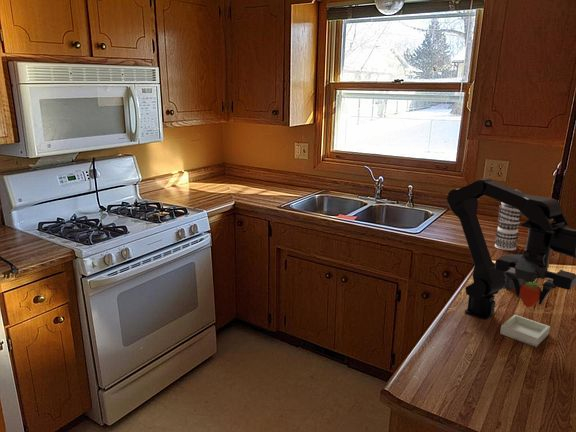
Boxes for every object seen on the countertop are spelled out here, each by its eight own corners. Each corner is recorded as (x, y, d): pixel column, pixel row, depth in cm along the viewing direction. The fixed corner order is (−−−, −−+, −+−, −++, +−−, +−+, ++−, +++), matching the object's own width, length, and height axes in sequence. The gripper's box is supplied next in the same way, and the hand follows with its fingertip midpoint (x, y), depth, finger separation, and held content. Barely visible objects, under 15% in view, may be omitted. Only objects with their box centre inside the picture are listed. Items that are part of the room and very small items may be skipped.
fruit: (513, 303, 124) (517, 276, 122) (527, 300, 126) (531, 274, 124) (529, 312, 119) (534, 284, 117) (544, 309, 121) (549, 281, 119)
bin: (500, 333, 125) (501, 325, 124) (513, 322, 131) (514, 314, 131) (536, 347, 118) (537, 338, 118) (548, 334, 125) (550, 326, 124)
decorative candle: (522, 249, 191) (531, 192, 185) (504, 251, 189) (512, 193, 182) (506, 242, 200) (514, 187, 193) (489, 244, 197) (496, 188, 191)
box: (518, 282, 159) (522, 253, 156) (528, 288, 154) (533, 259, 151) (497, 282, 158) (501, 254, 155) (506, 289, 153) (510, 260, 150)
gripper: (489, 244, 119) (482, 298, 123) (568, 264, 106) (557, 323, 110) (506, 235, 127) (499, 286, 131) (582, 252, 114) (571, 309, 118)
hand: (529, 300), depth 122 cm, fingers closed on fruit, 5 cm apart
